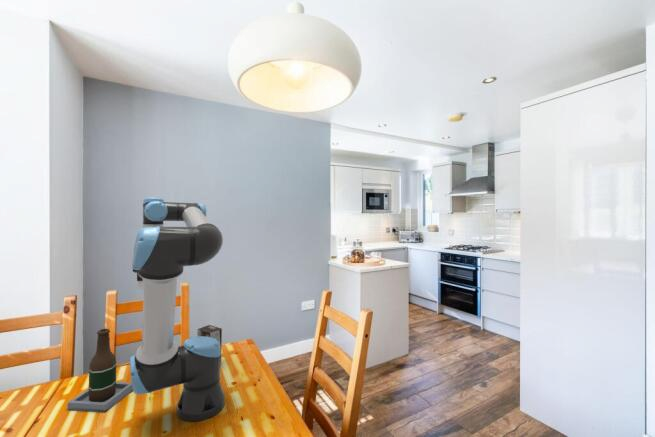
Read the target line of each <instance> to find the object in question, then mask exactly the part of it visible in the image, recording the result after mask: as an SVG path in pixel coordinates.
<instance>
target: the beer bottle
mask: <svg viewBox="0 0 655 437" xmlns="http://www.w3.org/2000/svg"><path fill="white" fill-rule="evenodd" d="M110 333H111V331H110V329H109V328H102V329H99V330H97V332H96V335H97V343H96V350H95V354H94V355H93V357H92V358H91V359H90V360H91V361H90V362H89V368H88V389H89V400H90V401H91V402H104V401H106V400H108V399H110V398H111V397H113V395H114V394H115V392H116V382H117V358H116V356H115V353H113V352H112V350H111V344H110V343H111V342H110Z"/></svg>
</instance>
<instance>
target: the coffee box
mask: <svg viewBox="0 0 655 437" xmlns="http://www.w3.org/2000/svg"><path fill="white" fill-rule="evenodd" d="M222 332H223V329H222V328H221V327H217V326H215V325H210V324H208V325H205V326H203V327H200V328H197V336H196V337H198V336H205V337H211V338H214V339H216V340H217V341H218V342H219V343H220V352H221V353H222V346H223V345H222V342H223V341H222V340H223V339H222V338H223V337H222V334H223V333H222ZM221 365H222V354H221V355H220V366H221Z"/></svg>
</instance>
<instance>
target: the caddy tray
mask: <svg viewBox="0 0 655 437" xmlns="http://www.w3.org/2000/svg"><path fill="white" fill-rule="evenodd" d="M132 391H133V388H132V382H125V381H124V382H123V381H116V392H115V394H114V395H113V397H111V398H110V399H108V400H106V401H104V402H91V401H90V400H89V388H87V389H86V390H84V391H83V392H81V393H79V394H78V395H77V396H75V397H74V398H72V399H71V400H69V401H67V407H66V408H67V411H77V412H78V411H79V412H91V413H92V412H93V413H107V412H108V411H109V410H110V409H112V407H115V405H116V404H118V403H119V402H120V401H121V400H123V399H124V398H125V397H127V395H129V394H130V393H131V392H132ZM133 392H134V391H133Z"/></svg>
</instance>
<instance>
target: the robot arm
mask: <svg viewBox="0 0 655 437" xmlns="http://www.w3.org/2000/svg"><path fill="white" fill-rule="evenodd" d="M164 222H184V224H185V226H164ZM223 240H224V238H223V234H222V232H221V230H220V229H219V228H218V227H217V226H216V225H214V224H213V223H211V222H210V221H209V219H208V218H207V208H206V205H205V204H204V203H198V202H176V201H175V202H172V201H171V202H169V201H165V200H164V198H162V197H148V196H147V197H144V198H143V202H142V228H140V229H139V230H138V231H137V233H136V236H135V241H134V246H133V255H132V259H131V260H132V261H131V268H132V272H133V273H136V281H137V283H136V284H137V285H136V289H137V290H143V297H142V298H143V300H142V323H141V325H142V327H141V328H142V330H141V345H140V346H139V347H138V348H137V350H136V351H135V354H134V355H132V356H130V357H129V358H130V359H129V369H130V370H129V372H130V381H131V382H130V383H132V388H133V393H134V394H135V395H138V396H139V395H145V394H151V393H154V392H157V391H160V390H163V389H167V388H171V387H176V386H179V385H183V387H182V391H181V394H180V396H179V400H178V402H177V405H176V413H177V417H178V418H179V419H181V420H183V421H186V422H201V421H204V420H207V419H211V418H212V417H214V416H216V415H217V414H219V412H221V411H222V409H224V407H225V400H226V398H225V397H226V396H225V393H224V389H223V387H222V384H221V381H220V379H221V365H220V355H221V356H222V351H221V352H220V343H219V342H218V341H217V340H216V339H214V338H211V337H205V336H198V337H197V336H193V337H190V338H187V339H185V340H184V342H183V344H182V345H178V343H177V341H175V340H174V335H175V334H174V332H175V331H174V330H175V317H176V305H177V304H176V300H177V288H178V287H177V286H178V278H179V277H180V276H182V274H183V272H184V267H192V266H199V265H202V264H205V263H207V262H210V261H211V260H212V259H214V258H215V257H216V255H217V254H219V252H220V250H221V249H222V246H223V244H224V243H223Z"/></svg>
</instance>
